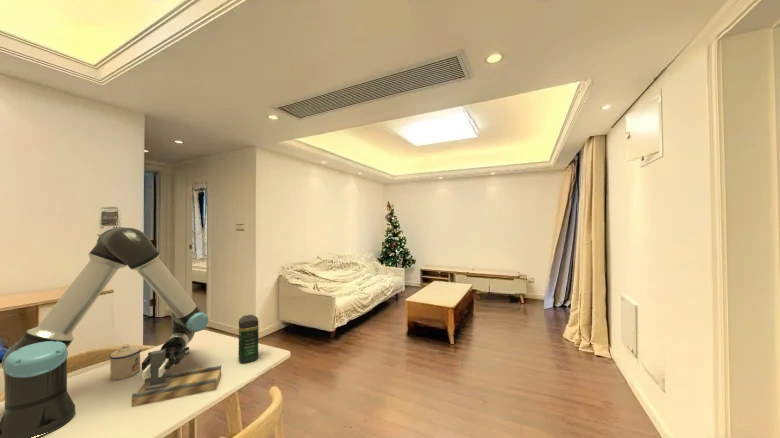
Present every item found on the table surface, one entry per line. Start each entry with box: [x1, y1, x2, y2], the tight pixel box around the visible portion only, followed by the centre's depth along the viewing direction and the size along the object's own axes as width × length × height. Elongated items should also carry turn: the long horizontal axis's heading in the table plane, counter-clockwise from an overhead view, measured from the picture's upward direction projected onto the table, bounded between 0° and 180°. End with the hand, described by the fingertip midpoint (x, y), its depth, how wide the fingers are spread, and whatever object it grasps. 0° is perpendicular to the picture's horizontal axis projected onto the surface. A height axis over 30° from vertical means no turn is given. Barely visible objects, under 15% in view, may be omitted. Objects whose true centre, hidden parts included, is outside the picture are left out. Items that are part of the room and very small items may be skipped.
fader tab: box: [145, 349, 171, 391], centre depth 100 cm, size 6×5×12 cm
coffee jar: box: [238, 314, 260, 363], centre depth 125 cm, size 10×8×19 cm
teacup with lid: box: [109, 343, 142, 381], centre depth 114 cm, size 12×9×12 cm
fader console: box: [131, 365, 222, 407], centre depth 102 cm, size 24×11×4 cm, turn 112°
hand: (151, 374), depth 95 cm, fingers closed on fader tab, 4 cm apart
